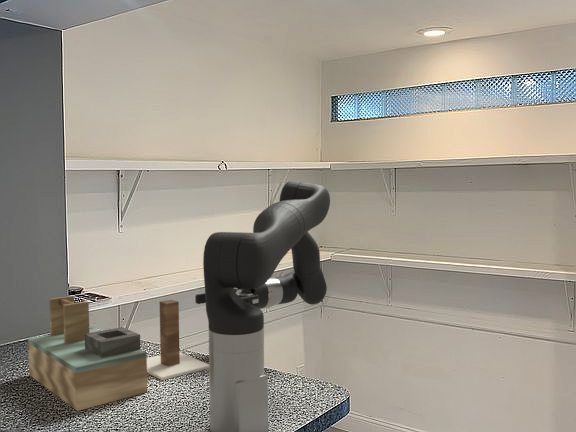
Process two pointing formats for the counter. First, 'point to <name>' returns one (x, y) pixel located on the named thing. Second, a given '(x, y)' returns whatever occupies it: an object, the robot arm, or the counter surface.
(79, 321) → the wooden socket fixture
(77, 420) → the counter surface
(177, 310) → the walnut key
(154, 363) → the mat
